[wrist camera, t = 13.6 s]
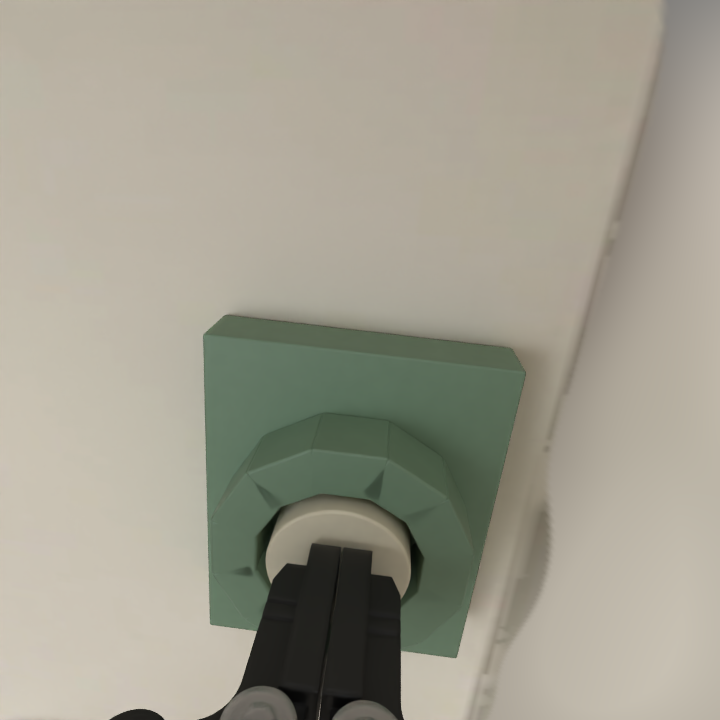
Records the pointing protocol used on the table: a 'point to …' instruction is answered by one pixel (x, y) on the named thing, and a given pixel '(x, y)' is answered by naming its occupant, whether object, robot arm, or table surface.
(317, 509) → the button
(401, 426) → the button block
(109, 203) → the table surface
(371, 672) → the robot arm
